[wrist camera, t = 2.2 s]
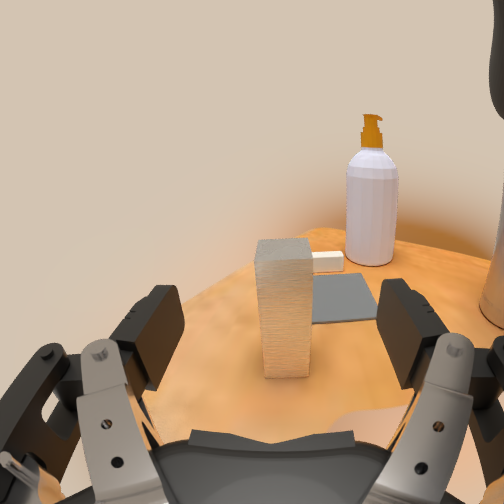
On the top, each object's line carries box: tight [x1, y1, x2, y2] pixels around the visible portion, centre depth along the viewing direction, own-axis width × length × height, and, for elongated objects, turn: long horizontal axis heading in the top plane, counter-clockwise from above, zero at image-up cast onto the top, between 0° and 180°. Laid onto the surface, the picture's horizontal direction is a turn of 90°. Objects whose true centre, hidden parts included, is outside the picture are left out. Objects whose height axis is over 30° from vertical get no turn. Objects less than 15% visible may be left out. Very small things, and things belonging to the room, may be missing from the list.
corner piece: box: [312, 251, 344, 273], centre depth 37 cm, size 10×12×2 cm
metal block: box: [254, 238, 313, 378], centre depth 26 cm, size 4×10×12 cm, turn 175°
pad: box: [312, 273, 378, 324], centre depth 35 cm, size 9×11×1 cm
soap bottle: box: [345, 114, 398, 266], centre depth 40 cm, size 9×9×24 cm
